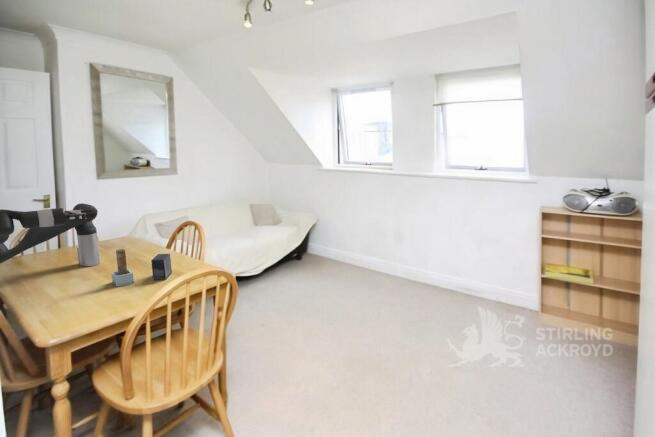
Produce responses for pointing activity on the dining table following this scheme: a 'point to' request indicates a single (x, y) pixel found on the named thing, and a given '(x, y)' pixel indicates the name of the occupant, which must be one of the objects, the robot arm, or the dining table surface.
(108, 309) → the dining table surface
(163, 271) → the small box
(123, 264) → the tall wooden pillar
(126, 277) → the pale blue storage bin
